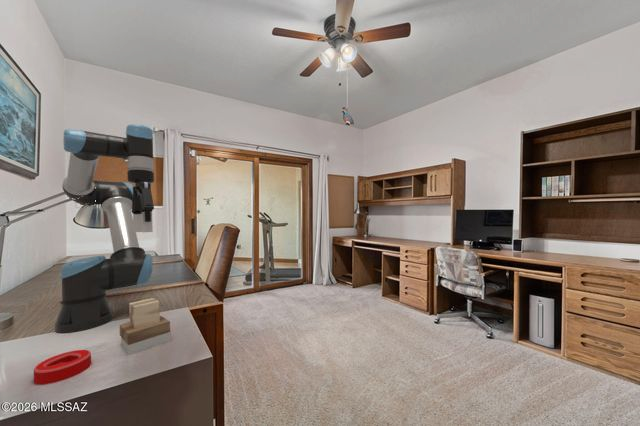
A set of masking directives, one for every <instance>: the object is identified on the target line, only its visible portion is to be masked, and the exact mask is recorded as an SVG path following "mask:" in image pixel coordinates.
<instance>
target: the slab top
mask: <svg viewBox="0 0 640 426" xmlns="http://www.w3.org/2000/svg"><path fill="white" fill-rule="evenodd" d="M159 316H160V322H159V323H155V324H152V325H148V326H145V327H141V328H138V329H134V328H133V327H132V326H131V325H130V321H129V322H125V323H122V324H119V336H120V338H121V337H122V338H123V340H124V341H125V342H126V343H127V344H128V345H131V344H134V343H137V342H140V341H143V340H146V339H149V338H152V337H156V336H159V335H162V334H165V333H168V332H171V321H170V320H168V319H167V318H165V317H164V316H162V315H160V314H159Z"/></svg>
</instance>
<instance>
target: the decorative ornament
mask: <svg viewBox="0 0 640 426" xmlns="http://www.w3.org/2000/svg"><path fill="white" fill-rule="evenodd" d="M90 365H92V352H91V351H90V350H88V349H77V350H71V351H67V352H63V353H59V354H57V355H54V356H52V357H49V358H47V359H44V360H43V361H41V362H39V363H38V364H37V365H35V366H34V369H33V384H35V385H38V386H41V385H50V384H55V383H58V382H61V381H64V380H68V379H71V378H73V377H75V376H77V375H79V374H82V373H83V372H84V370H85V371H86V370H88V369H90V367H91V366H90Z"/></svg>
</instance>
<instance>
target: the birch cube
mask: <svg viewBox="0 0 640 426" xmlns="http://www.w3.org/2000/svg"><path fill="white" fill-rule="evenodd" d="M128 305H129V309H128V310H129V322H130V325H131V326H132V327H133V328H134V329H138V328H141V327H145V326H148V325H152V324H155V323H159V322H160V316H159V315H160V301H159V300H157V299H156V298H154V297H151V298H147V299H142V300H138V301H134V302H129V304H128Z"/></svg>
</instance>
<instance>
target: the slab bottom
mask: <svg viewBox="0 0 640 426" xmlns="http://www.w3.org/2000/svg"><path fill="white" fill-rule="evenodd" d="M171 333H172V332H171V331H170V332H168V333H165V334H162V335H159V336H156V337H152V338H149V339H146V340H143V341H140V342H137V343H134V344H131V345H128V344H127V343H126V342H125V341H124V340H123V338H122V337H121V336H120V344H121V346H122V347H123V349H124V351H126V353H127V354H128V356H129V355H132V354H136V353H138V352H139V353H140V352H141V351H145V350H148V349H150V348H153V347H156V346H159V345H161V344H165V343H168V342H171V340H172V335H171Z"/></svg>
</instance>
